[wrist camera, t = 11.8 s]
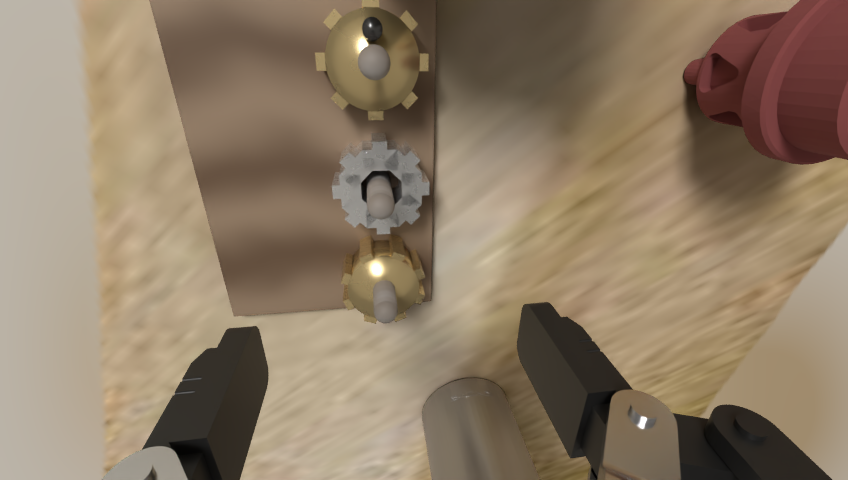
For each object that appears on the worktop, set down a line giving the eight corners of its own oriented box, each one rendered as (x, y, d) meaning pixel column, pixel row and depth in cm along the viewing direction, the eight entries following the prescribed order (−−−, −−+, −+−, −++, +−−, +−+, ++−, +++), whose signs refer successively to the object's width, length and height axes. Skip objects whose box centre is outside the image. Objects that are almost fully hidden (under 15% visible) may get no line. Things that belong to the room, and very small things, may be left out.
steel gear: (423, 132, 26) (429, 140, 23) (422, 215, 28) (428, 231, 26) (331, 133, 25) (327, 142, 22) (339, 219, 28) (337, 236, 25)
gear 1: (421, 112, 25) (433, 124, 21) (327, 114, 24) (318, 126, 20) (421, 4, 22) (435, -9, 18) (315, 2, 22) (302, -13, 17)
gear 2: (431, 283, 31) (438, 304, 29) (364, 311, 31) (364, 335, 29) (402, 221, 28) (406, 238, 26) (328, 253, 29) (324, 273, 26)
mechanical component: (756, 136, 31) (645, 141, 29) (810, -8, 26) (681, -9, 25) (975, 180, 20) (811, 191, 18) (1130, -56, 15) (929, -62, 14)
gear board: (429, 294, 33) (445, 353, 26) (237, 308, 31) (203, 377, 24) (433, -1, 23) (460, -24, 17) (155, -9, 21) (60, -39, 15)
